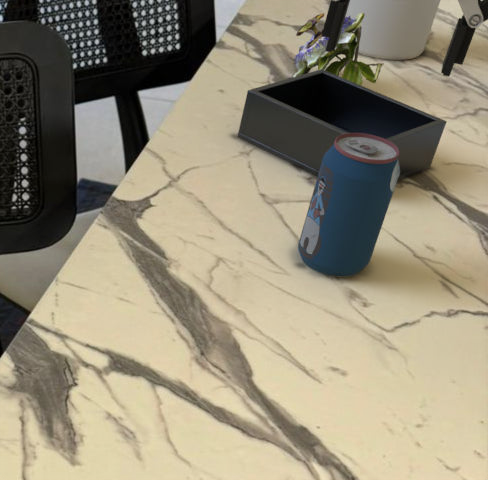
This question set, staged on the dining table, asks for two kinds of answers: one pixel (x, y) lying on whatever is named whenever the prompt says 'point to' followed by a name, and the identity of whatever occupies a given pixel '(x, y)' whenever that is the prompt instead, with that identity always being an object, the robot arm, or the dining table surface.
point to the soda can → (349, 204)
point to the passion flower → (335, 52)
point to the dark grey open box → (334, 121)
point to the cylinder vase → (393, 26)
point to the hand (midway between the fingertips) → (387, 58)
